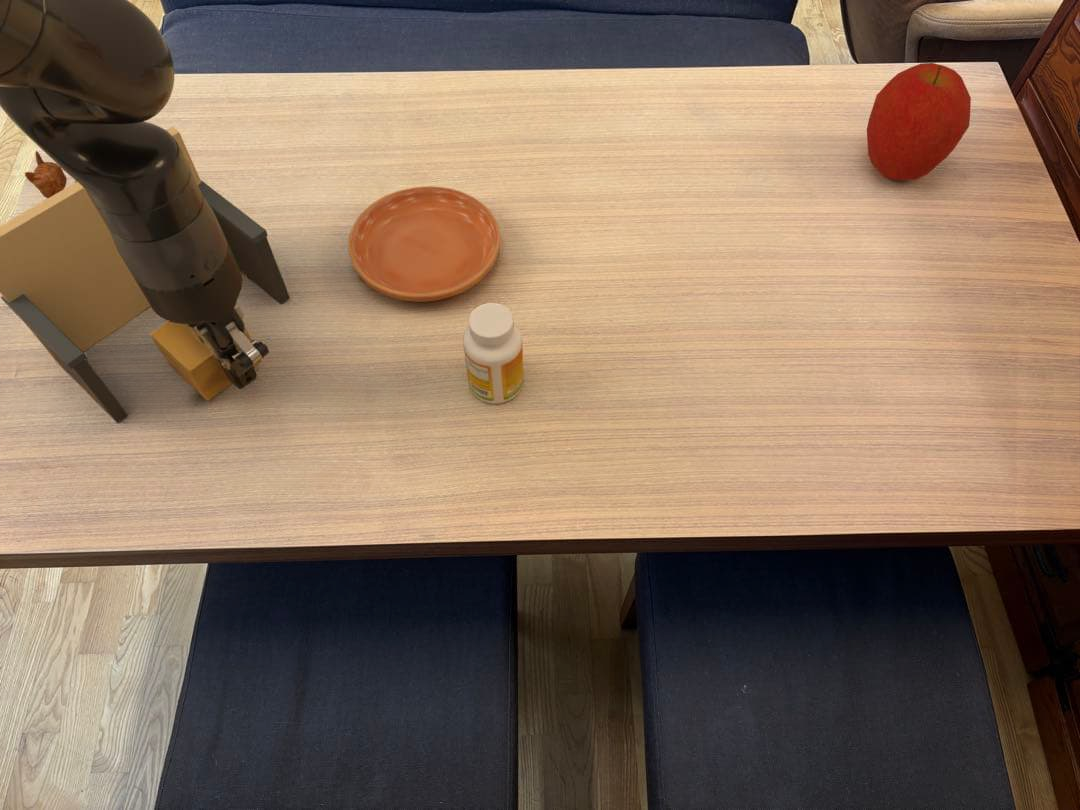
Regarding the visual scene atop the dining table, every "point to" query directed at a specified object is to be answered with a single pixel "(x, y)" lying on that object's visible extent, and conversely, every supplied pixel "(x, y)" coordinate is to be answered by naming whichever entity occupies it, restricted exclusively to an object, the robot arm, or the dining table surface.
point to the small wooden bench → (100, 275)
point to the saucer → (424, 243)
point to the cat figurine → (47, 177)
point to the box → (191, 359)
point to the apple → (917, 121)
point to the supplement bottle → (493, 354)
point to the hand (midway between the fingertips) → (244, 379)
